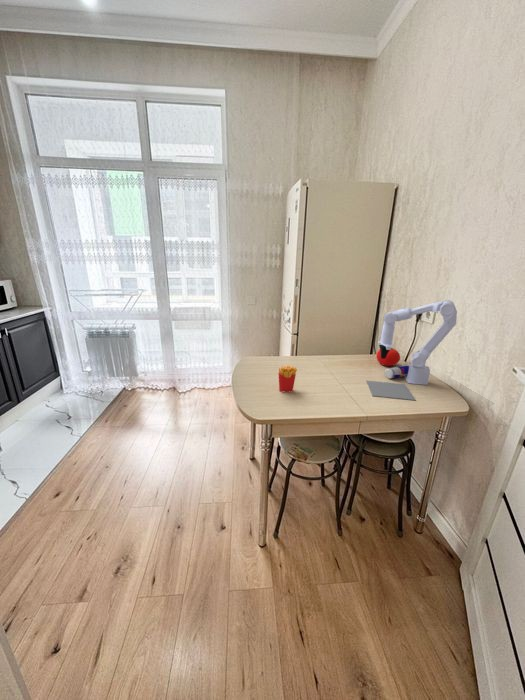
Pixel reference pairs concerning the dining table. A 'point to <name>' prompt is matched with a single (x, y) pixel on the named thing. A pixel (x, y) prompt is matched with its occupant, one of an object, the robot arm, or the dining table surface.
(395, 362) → the tomato
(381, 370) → the dining table surface
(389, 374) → the beverage can
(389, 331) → the robot arm
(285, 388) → the french fries
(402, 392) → the mat
